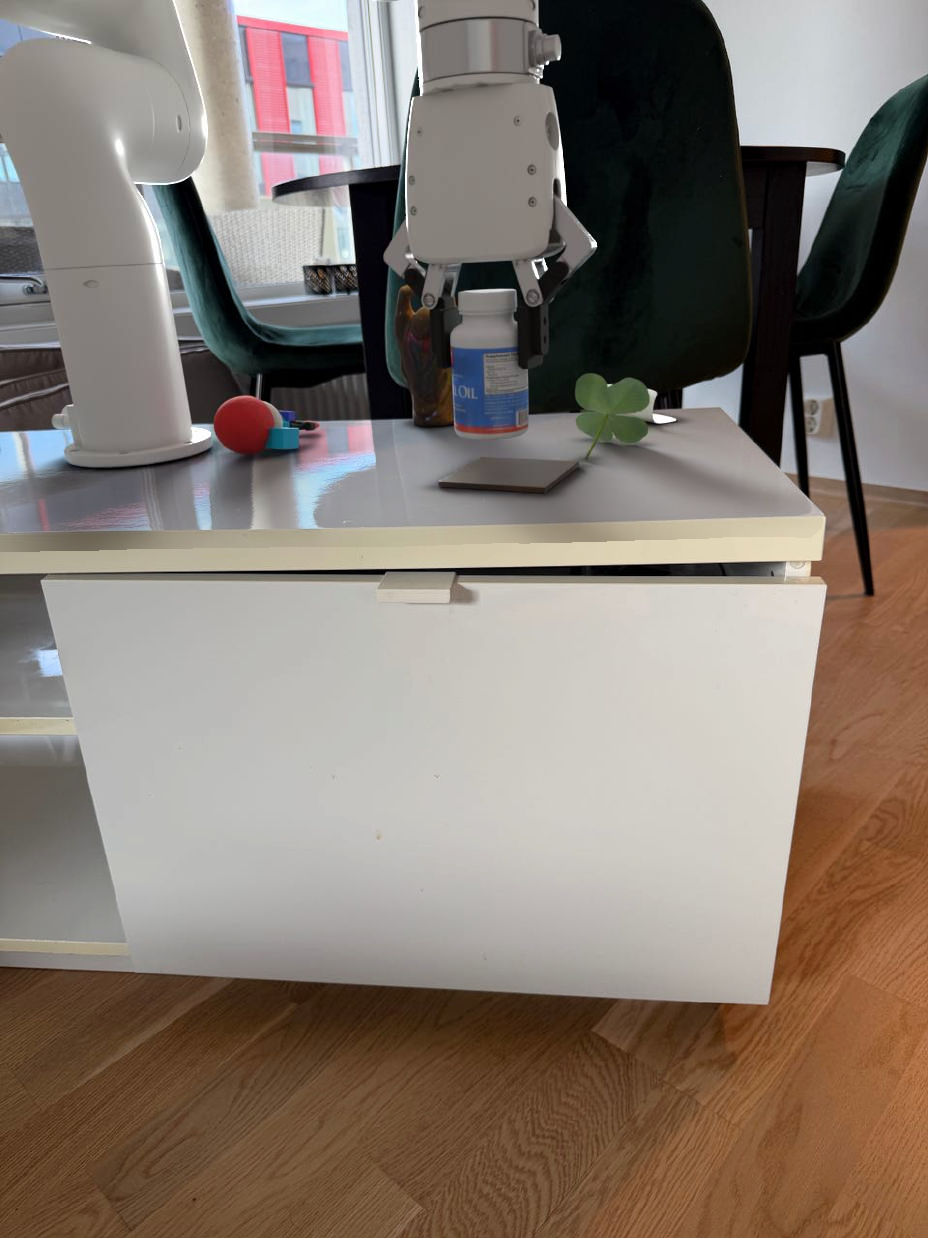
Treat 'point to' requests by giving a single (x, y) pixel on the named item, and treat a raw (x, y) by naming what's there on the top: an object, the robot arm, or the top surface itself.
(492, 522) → the top surface
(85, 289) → the robot arm
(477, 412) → the pill bottle
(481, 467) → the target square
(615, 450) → the top surface
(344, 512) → the top surface
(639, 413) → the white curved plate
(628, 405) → the green leafy piece
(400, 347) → the figurine
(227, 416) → the toy figure
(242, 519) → the top surface
